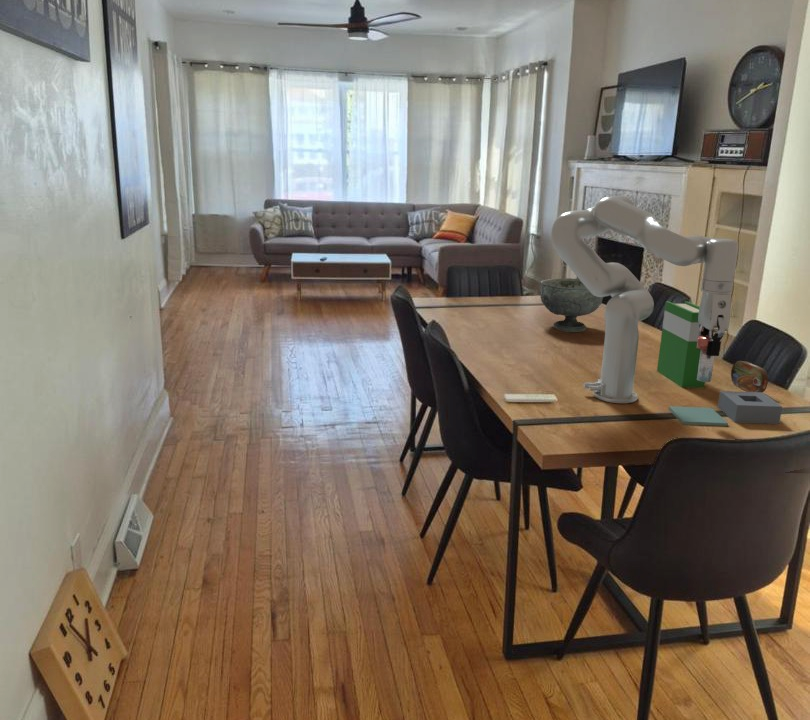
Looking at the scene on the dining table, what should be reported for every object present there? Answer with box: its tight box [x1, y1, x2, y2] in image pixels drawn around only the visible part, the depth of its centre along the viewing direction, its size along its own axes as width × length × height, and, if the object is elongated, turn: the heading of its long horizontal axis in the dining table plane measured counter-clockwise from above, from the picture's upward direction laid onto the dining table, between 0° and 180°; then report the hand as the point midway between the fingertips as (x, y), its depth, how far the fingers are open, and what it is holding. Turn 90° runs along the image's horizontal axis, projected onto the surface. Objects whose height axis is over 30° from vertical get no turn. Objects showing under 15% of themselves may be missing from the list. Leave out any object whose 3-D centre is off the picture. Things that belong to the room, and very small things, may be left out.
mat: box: [668, 405, 729, 427], centre depth 195 cm, size 12×12×1 cm
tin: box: [730, 360, 769, 393], centre depth 219 cm, size 15×3×8 cm, turn 9°
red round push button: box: [697, 335, 723, 383], centre depth 190 cm, size 6×6×12 cm
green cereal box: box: [656, 300, 706, 389], centre depth 226 cm, size 18×7×24 cm, turn 6°
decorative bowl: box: [539, 277, 604, 333], centre depth 292 cm, size 26×26×20 cm
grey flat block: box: [717, 390, 783, 425], centre depth 197 cm, size 12×12×5 cm
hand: (707, 351), depth 190 cm, fingers closed on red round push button, 6 cm apart
